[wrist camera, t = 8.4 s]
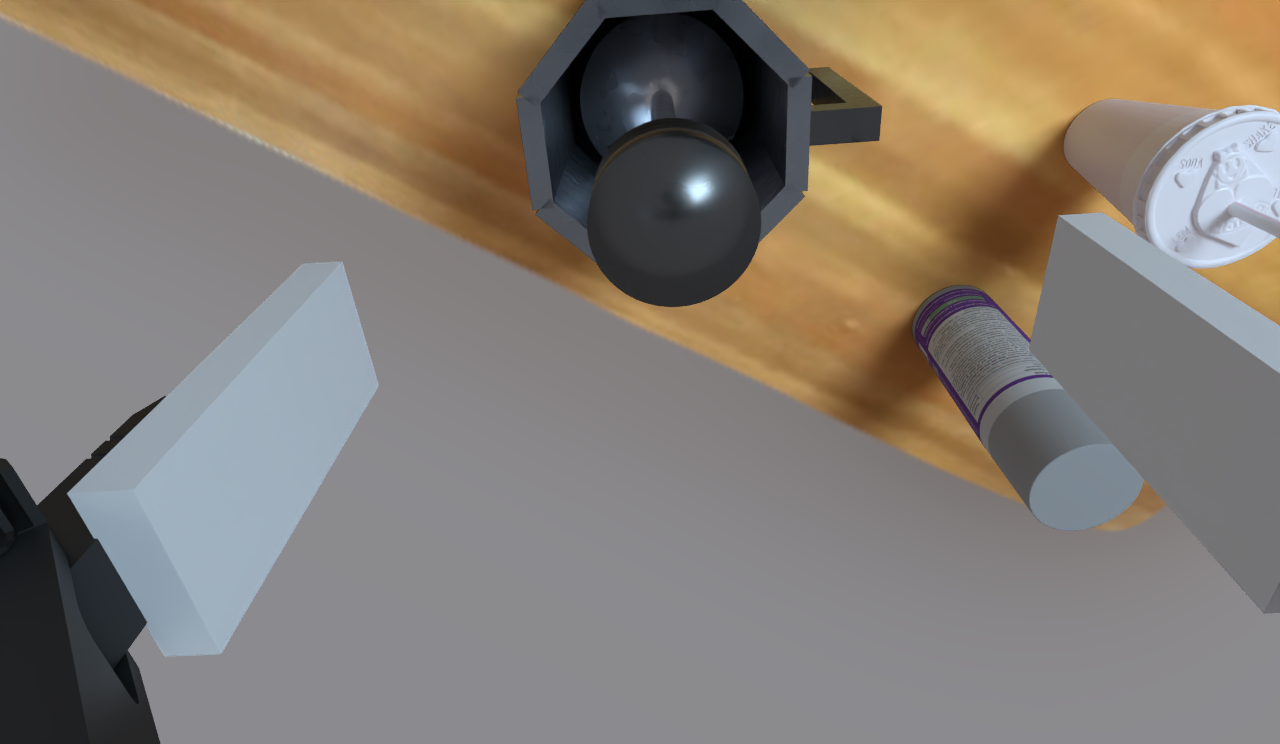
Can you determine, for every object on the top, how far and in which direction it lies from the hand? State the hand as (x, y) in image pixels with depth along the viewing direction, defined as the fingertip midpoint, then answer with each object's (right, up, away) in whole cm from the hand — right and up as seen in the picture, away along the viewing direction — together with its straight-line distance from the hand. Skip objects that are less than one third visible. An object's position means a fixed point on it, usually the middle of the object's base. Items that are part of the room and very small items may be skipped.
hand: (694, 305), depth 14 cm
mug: (+1, +13, +22) cm, 26 cm away
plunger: (0, +11, +20) cm, 23 cm away
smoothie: (+22, +11, +24) cm, 34 cm away
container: (+17, +2, +29) cm, 34 cm away
